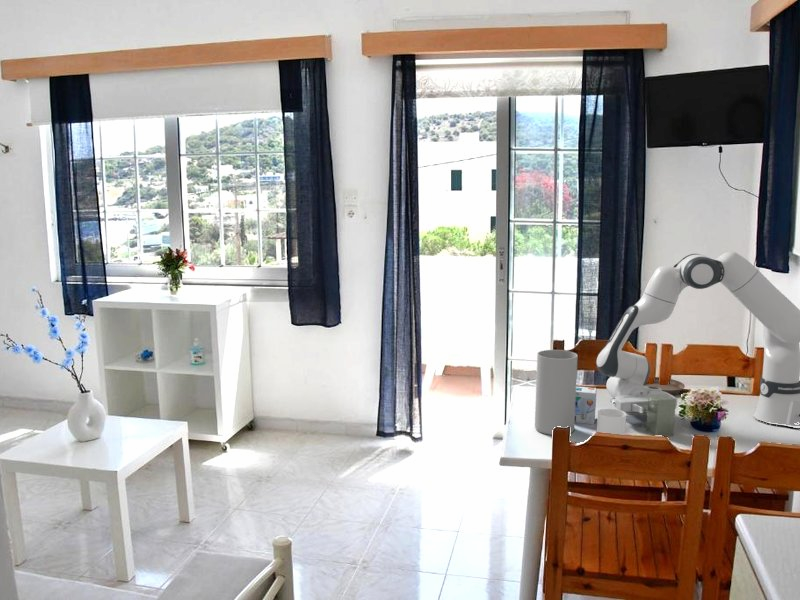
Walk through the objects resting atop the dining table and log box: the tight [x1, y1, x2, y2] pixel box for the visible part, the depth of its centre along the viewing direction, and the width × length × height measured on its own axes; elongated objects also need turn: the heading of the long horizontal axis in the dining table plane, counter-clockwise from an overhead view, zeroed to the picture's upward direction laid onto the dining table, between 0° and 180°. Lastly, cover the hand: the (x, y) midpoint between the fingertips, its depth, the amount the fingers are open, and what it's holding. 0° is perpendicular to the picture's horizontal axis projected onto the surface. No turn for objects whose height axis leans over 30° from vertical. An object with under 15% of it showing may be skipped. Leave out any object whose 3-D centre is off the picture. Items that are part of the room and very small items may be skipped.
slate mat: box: [626, 413, 647, 428], centre depth 248 cm, size 10×10×1 cm
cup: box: [596, 408, 627, 436], centre depth 227 cm, size 8×12×10 cm
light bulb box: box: [575, 385, 597, 425], centre depth 248 cm, size 11×7×11 cm, turn 73°
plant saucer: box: [644, 376, 686, 396], centre depth 284 cm, size 18×18×3 cm
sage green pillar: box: [645, 394, 677, 437], centre depth 235 cm, size 6×6×12 cm
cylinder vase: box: [534, 349, 578, 436], centre depth 237 cm, size 12×12×25 cm
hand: (657, 410), depth 237 cm, fingers open, 8 cm apart
